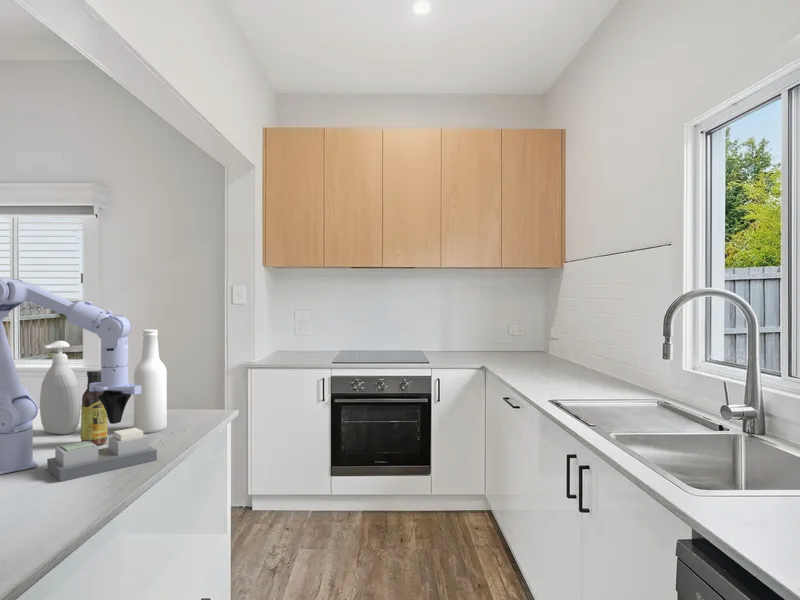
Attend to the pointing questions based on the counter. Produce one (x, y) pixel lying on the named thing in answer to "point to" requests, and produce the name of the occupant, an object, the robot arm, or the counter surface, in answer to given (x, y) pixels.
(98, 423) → the sauce bottle
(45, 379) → the soap bottle
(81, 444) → the sage key
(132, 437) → the cream key
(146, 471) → the counter surface
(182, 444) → the counter surface
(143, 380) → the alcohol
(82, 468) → the key console
